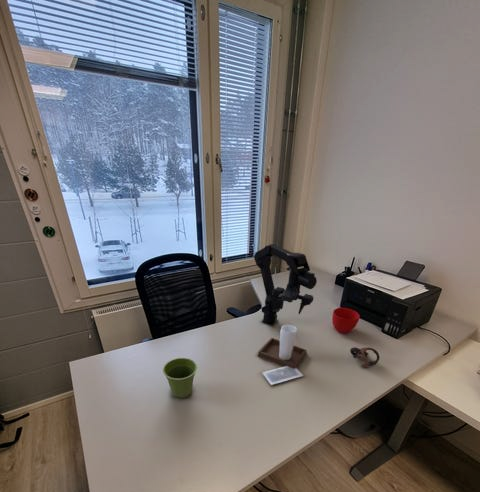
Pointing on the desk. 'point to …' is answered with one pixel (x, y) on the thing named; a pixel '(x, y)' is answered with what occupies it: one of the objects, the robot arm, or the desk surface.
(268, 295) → the robot arm
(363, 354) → the pottery mug
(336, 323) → the ceramic cup
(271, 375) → the touchpad
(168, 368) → the plant pot
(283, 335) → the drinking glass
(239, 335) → the desk surface
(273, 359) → the tray
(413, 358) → the desk surface
